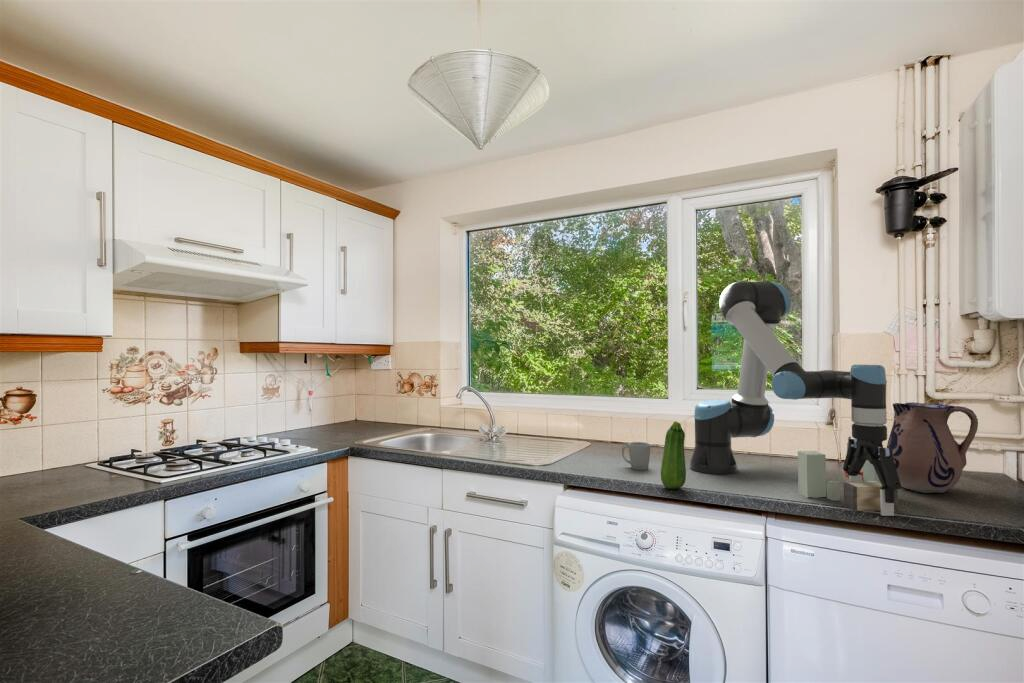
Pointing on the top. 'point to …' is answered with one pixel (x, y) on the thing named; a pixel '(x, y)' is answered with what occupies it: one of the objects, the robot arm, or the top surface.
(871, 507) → the wooden block
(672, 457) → the vegetable
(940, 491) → the ceramic pitcher
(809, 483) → the pale green stepped block
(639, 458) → the cup
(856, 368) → the robot arm
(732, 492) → the top surface
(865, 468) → the pale green fixture block
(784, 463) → the top surface
